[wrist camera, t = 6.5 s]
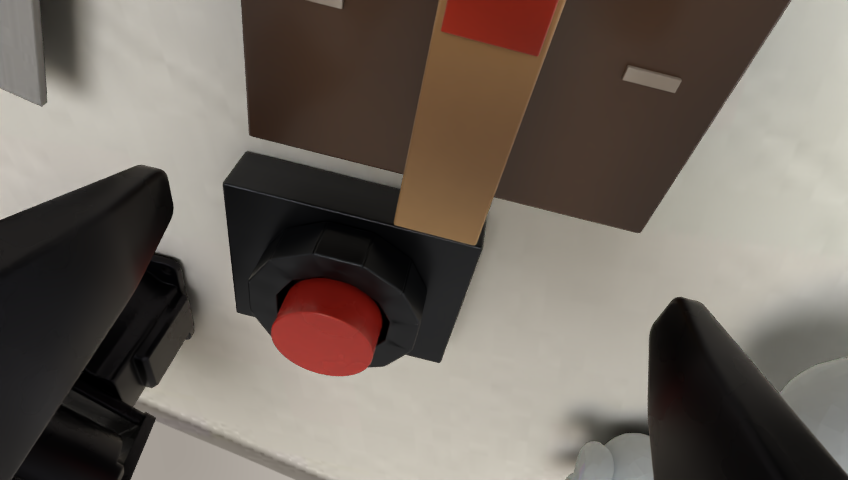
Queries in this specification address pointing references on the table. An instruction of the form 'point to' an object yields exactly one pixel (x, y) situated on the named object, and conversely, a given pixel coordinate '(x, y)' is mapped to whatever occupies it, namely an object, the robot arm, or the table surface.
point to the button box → (342, 252)
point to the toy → (806, 393)
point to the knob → (471, 110)
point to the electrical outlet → (22, 50)
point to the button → (327, 327)
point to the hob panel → (549, 103)
